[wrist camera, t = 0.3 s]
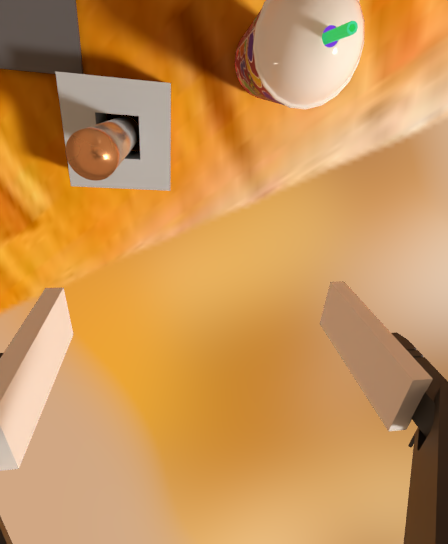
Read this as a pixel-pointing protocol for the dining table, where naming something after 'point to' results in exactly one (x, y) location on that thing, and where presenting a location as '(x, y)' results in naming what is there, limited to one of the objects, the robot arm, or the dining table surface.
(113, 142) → the peg
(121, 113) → the eye block
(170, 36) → the dining table surface
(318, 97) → the smoothie
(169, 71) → the dining table surface
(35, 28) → the mat
